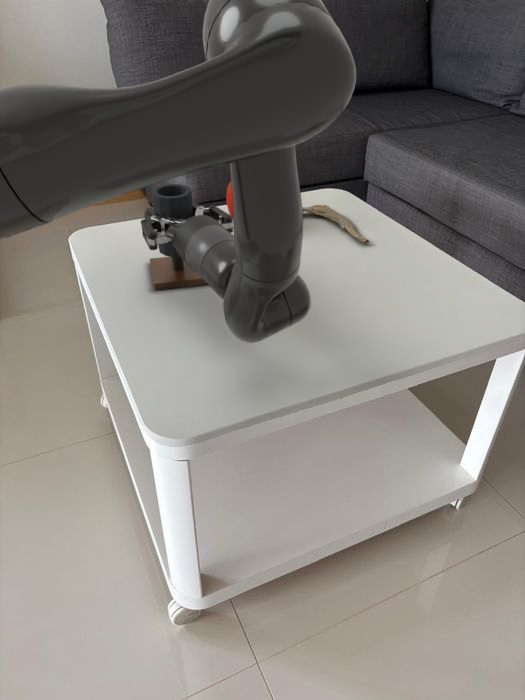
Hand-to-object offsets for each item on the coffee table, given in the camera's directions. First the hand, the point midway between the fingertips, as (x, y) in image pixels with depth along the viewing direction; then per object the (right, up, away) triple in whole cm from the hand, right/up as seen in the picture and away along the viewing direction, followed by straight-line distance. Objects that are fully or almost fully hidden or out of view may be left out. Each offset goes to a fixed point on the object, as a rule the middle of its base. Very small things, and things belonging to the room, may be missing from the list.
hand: (168, 209), depth 89 cm
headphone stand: (+1, -10, +5) cm, 11 cm away
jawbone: (+28, +1, +20) cm, 35 cm away
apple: (+13, +2, +21) cm, 25 cm away
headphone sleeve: (+1, -6, +2) cm, 6 cm away
